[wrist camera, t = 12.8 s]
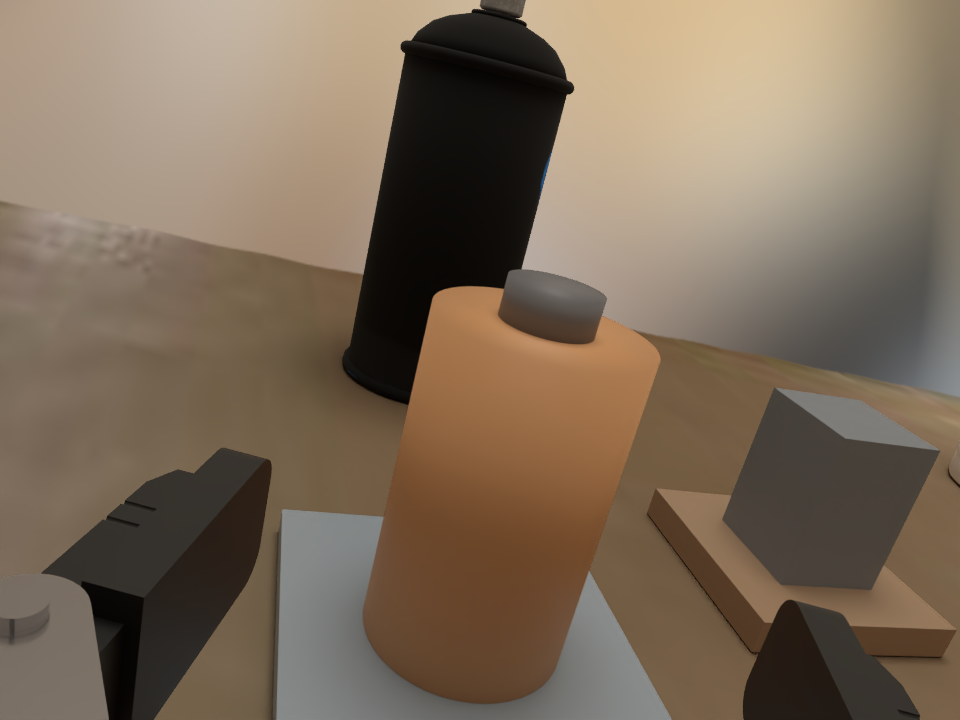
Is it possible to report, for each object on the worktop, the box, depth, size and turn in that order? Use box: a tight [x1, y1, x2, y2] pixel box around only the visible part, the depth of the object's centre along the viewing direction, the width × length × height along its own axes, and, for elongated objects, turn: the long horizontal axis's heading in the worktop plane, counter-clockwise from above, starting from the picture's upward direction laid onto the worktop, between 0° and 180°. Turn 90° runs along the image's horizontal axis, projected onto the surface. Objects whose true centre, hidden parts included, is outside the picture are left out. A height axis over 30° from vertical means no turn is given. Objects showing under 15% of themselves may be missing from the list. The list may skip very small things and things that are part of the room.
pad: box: [272, 509, 672, 720], centre depth 21 cm, size 10×10×1 cm
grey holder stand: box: [647, 388, 956, 657], centre depth 28 cm, size 8×8×7 cm
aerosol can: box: [343, 0, 574, 403], centre depth 37 cm, size 8×8×20 cm
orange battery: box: [363, 269, 660, 704], centre depth 19 cm, size 6×6×10 cm
